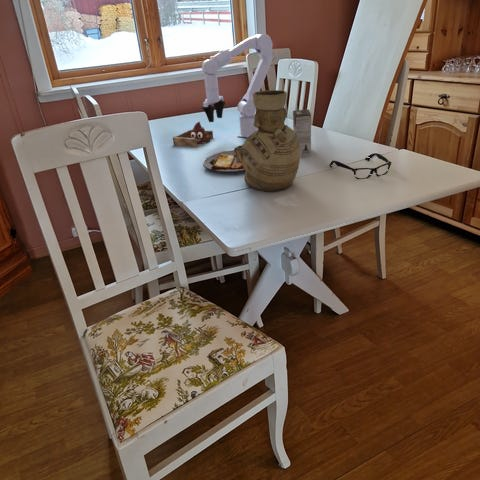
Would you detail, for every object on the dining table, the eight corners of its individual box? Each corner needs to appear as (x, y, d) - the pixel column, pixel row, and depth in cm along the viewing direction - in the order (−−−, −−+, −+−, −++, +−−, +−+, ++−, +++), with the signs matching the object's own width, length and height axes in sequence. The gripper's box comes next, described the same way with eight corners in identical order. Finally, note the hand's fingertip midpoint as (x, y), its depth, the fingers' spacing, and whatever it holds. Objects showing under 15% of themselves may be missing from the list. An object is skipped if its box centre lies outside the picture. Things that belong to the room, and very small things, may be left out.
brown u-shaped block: (213, 138, 200) (212, 130, 199) (196, 146, 189) (195, 139, 188) (191, 136, 206) (190, 129, 204) (173, 145, 195) (172, 137, 193)
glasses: (350, 185, 137) (351, 171, 135) (326, 167, 152) (327, 154, 149) (395, 176, 140) (397, 162, 138) (367, 159, 155) (369, 146, 153)
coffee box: (293, 150, 172) (292, 110, 165) (308, 149, 172) (308, 109, 164) (295, 156, 164) (294, 115, 157) (311, 155, 164) (311, 114, 156)
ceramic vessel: (234, 179, 148) (226, 90, 134) (293, 172, 149) (291, 83, 135) (240, 199, 131) (231, 101, 117) (306, 192, 132) (305, 93, 118)
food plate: (259, 176, 149) (258, 166, 148) (197, 176, 154) (195, 167, 153) (269, 154, 171) (268, 146, 169) (214, 156, 176) (213, 147, 174)
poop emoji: (212, 139, 199) (209, 119, 195) (207, 144, 192) (204, 123, 187) (192, 139, 201) (189, 120, 197) (186, 144, 194) (183, 124, 190)
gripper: (212, 86, 193) (216, 116, 199) (195, 92, 182) (199, 123, 188) (225, 85, 190) (228, 116, 196) (209, 92, 179) (213, 124, 185)
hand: (215, 119), depth 192 cm, fingers open, 7 cm apart
